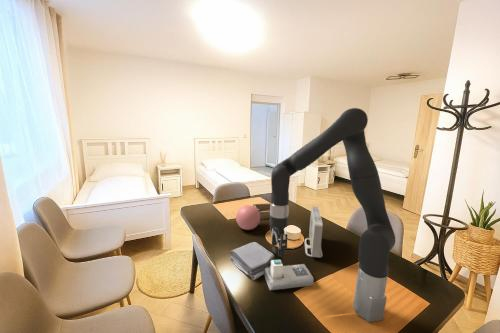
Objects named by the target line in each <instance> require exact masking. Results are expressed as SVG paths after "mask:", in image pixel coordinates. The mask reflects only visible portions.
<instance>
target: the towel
mask: <svg viewBox="0 0 500 333" xmlns="http://www.w3.org/2000/svg"><path fill="white" fill-rule="evenodd" d="M229 254H230V256H231V257H230V261H231V262H232V263H233V264H234V265H235V266H236V267H237V269H239V270H240V271H242V272H243V273H244V274H246V275H247V276H249V278H251V280H253V281H254V280H257V279H258V278H260V277H261V276H264V268H269V267H271V260H275V255H274V254H273V253H272V252H271V251H270V250H267V249H266V248H265V247H264V246H262V245H261V244H259V243H258V242H256V241H253V242H249V243H247V244H245V245H244V244H243V245H242V246H240V247H237V248H234V249H232V250H230V252H229Z"/></svg>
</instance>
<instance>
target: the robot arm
mask: <svg viewBox="0 0 500 333" xmlns="http://www.w3.org/2000/svg"><path fill="white" fill-rule="evenodd" d="M368 120H369V118H368V115H367V113H366V112H365V111H364V110H363V109H362V108H357V107H353V108H348V109H347V110H345V111H343V113H341V115H340V116H339V117H338V118H337V119H336V120H335V121H334V122H333V123H332V124H331V125H330V126H329V127H327V128H326V129H325V130H324V131H323V132H321V133H320V134H319V135H318V136H316V137H315V138H314V139H312V140H310V141H309V142H308V143H306V144H305V145H303V146H302V147H300V148H299V149H298V150H296V151H295V152H294V153H293V154H291V155H290V156H289V157H287V158H286V159H284V160H282V161H281V162H279V163H278V164H276V165H275V166H274V167H273V169H272V171H271V175H270V176H271V177H270V181H271V184H270V185H271V194H270V203H271V206H270V210H269V211H270V218H269V225H270V229H269V234H271V235H270V236H271V246H272V247H275V246H278V248H277V249H278V250H277V251H278V252H277V256H278V257H279V258H282V257H284V256H285V250H288V234H287V233H285V228H287V227H288V226H289V216H290V215H289V212H290V208H289V206H290V205H289V204H290V201H289V200H290V191H289V189H290V180H291V176H293V175H294V174H296V173H297V172H299V171H303V170H304V169H306V168H307V167H309V166H310V165H311V164H313V163H314V162H316V161H317V160H318V159H320V158H321V157H322V156H323V155H325V153H327V152H328V151H329V150H330V149H332V148H333V147H334V146H336V145H338V144H339V143H340V142H342V143H343V146H344V148H345V149H344V150H345V153H346V154H345V155H346V161H347V163H346V164H347V170H348V176H349V180H350V184H351V188H352V192H353V194H354V196H355V198H356V199H357V201H358V202H359V204H360V205H361V207H362V210H363V212H364V215H365V220H366V226H367V228H366V230H364V231H363V232H362V233H361V236H360V238H359V244H358V254H357V260H358V270H357V277H356V282H355V288H354V289H355V290H354V297H353V310H354V312H355V313H356V315H358V316H359V317H360V318H363V320H365V321H367V323H372V322H377V321H378V322H379V321H383V320H384V315H385V309H386V303H387V296H386V295H385V294H386V287H387V281H388V276H389V270H390V268H389V265H388V262H389V257H390V252H391V250H392V249H393V248H394V247H395V245H396V234H395V232H394V229H393V226H392V224H391V221H390V218H389V215H388V212H387V208H386V202H385V198H384V194H383V189H382V184H381V179H380V175H379V170H378V168H377V165H376V163H375V161H374V158H373V157H372V155H371V153H370V150H369V149H368V144H367V141H366V135H365V129H366V128H367V125H368Z"/></svg>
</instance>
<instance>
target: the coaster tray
mask: <svg viewBox="0 0 500 333" xmlns="http://www.w3.org/2000/svg"><path fill="white" fill-rule="evenodd" d="M252 206H253V207H255V208H257V209H260V210H259V214H260V220H266V219H270V206H271V202H270V203H253V204H252Z"/></svg>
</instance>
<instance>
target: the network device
mask: <svg viewBox="0 0 500 333" xmlns="http://www.w3.org/2000/svg"><path fill="white" fill-rule="evenodd" d="M323 226H324V223H323V220H322V216H321V212H320V209H319V207H318V206H311V210H310V220H309V230H308V232H309V233H308V237H306V238H304V252H305V254H306V256H308V257H313V258H322V257H323V251H322V239H323V237H322V236H323V229H324V227H323ZM307 241H309V244H307ZM308 250H310V253H311V254H310V253H308Z"/></svg>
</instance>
